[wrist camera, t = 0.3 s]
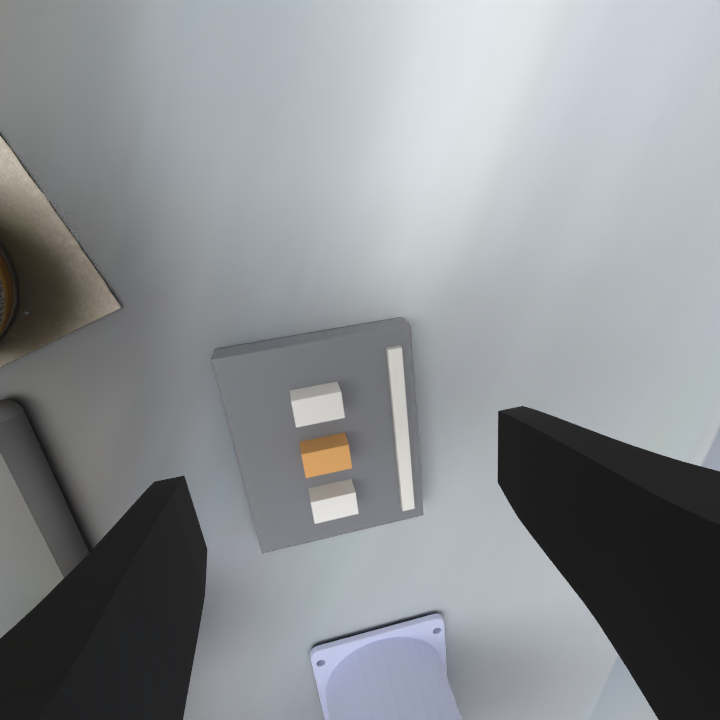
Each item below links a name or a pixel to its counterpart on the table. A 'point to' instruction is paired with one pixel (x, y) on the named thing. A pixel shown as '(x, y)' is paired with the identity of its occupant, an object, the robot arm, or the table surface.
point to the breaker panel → (324, 430)
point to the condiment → (40, 269)
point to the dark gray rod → (39, 487)
